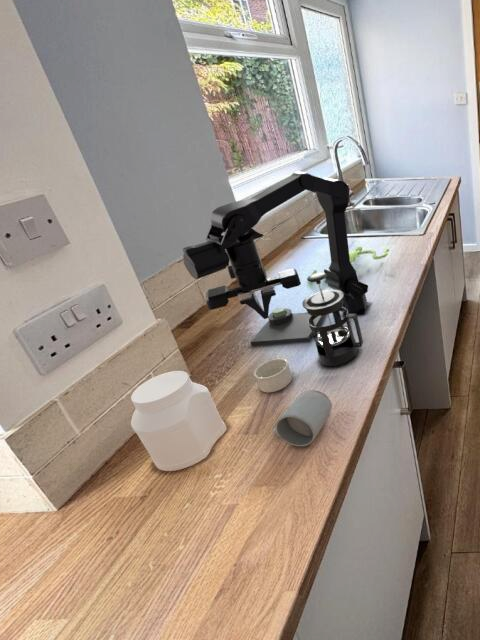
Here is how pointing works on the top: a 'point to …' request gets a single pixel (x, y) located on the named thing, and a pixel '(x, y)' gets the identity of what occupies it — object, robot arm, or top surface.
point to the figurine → (355, 253)
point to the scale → (286, 329)
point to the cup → (273, 375)
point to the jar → (175, 420)
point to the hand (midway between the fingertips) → (266, 317)
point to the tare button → (279, 312)
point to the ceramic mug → (304, 418)
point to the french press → (332, 326)
